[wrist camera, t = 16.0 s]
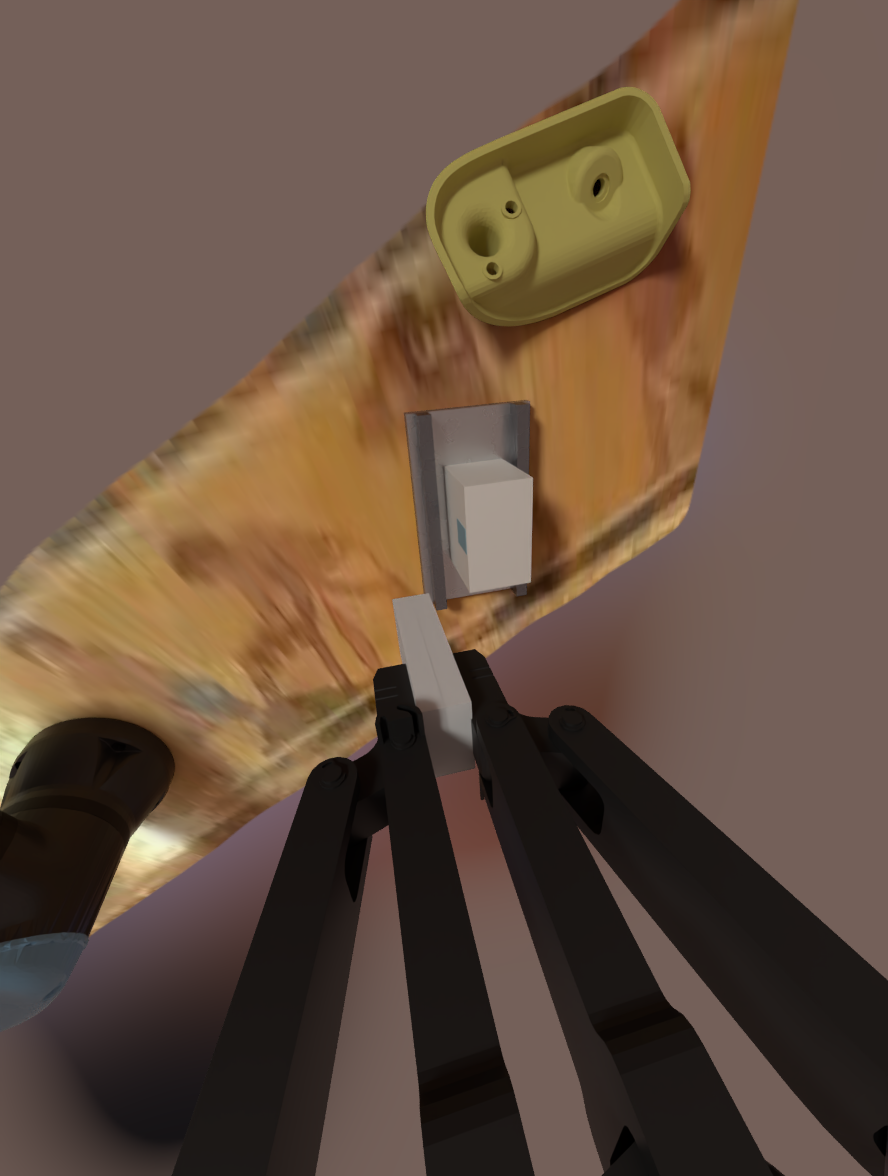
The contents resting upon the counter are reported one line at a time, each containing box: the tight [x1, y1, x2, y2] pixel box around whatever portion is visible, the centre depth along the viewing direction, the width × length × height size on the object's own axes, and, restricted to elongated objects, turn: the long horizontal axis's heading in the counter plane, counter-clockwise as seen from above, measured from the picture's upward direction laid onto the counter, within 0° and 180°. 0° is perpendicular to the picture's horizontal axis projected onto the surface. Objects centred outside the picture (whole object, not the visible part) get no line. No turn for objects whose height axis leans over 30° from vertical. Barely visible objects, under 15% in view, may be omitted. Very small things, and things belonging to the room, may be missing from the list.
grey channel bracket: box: [404, 400, 530, 610], centre depth 45 cm, size 12×20×3 cm, turn 5°
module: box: [443, 459, 533, 593], centre depth 42 cm, size 6×10×8 cm, turn 5°
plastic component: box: [426, 87, 691, 326], centre depth 35 cm, size 20×7×10 cm
